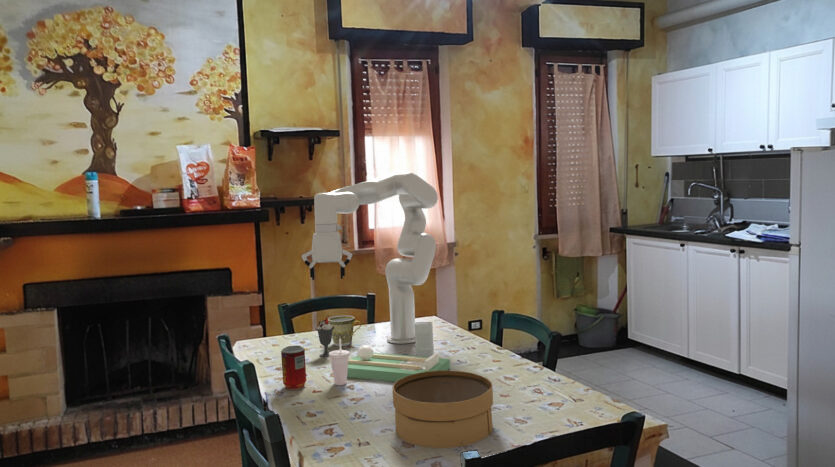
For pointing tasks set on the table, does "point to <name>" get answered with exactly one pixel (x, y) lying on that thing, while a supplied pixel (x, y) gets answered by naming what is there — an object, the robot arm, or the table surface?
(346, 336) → the ceramic cup
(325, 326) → the sundae
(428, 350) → the skincare box
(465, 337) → the table surface
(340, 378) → the smoothie
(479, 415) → the steamer basket
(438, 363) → the green
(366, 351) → the ball
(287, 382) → the soda can
